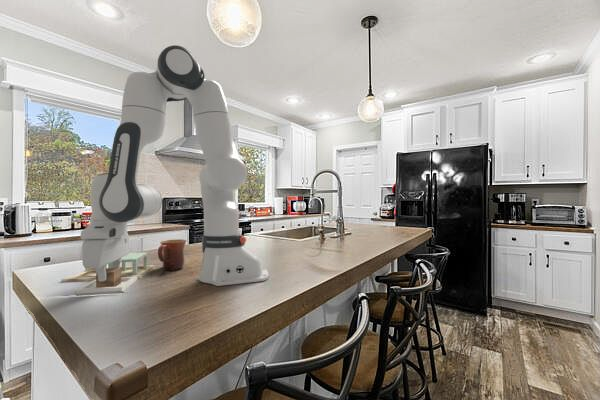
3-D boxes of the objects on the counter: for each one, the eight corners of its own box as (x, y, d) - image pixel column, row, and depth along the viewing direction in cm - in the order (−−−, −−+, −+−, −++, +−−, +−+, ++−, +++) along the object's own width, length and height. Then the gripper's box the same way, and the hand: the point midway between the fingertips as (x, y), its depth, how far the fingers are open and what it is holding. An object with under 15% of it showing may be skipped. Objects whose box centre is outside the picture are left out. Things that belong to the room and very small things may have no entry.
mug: (170, 265, 108) (170, 239, 108) (191, 266, 106) (191, 239, 106) (148, 273, 96) (148, 243, 96) (170, 274, 95) (170, 244, 95)
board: (154, 269, 102) (154, 265, 102) (140, 280, 88) (140, 275, 88) (86, 272, 98) (86, 268, 98) (61, 283, 84) (61, 279, 84)
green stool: (147, 268, 100) (147, 246, 100) (135, 276, 90) (136, 251, 90) (123, 269, 99) (123, 246, 99) (108, 278, 88) (108, 252, 88)
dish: (137, 281, 87) (137, 276, 87) (122, 293, 76) (122, 287, 76) (97, 283, 85) (97, 278, 85) (76, 295, 74) (76, 289, 74)
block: (120, 283, 83) (120, 268, 83) (113, 288, 79) (113, 272, 79) (104, 284, 82) (104, 268, 82) (96, 288, 78) (96, 272, 78)
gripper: (113, 226, 90) (113, 268, 90) (76, 233, 70) (76, 288, 70) (135, 225, 91) (135, 267, 91) (104, 233, 71) (104, 287, 71)
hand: (109, 277), depth 80 cm, fingers open, 6 cm apart
